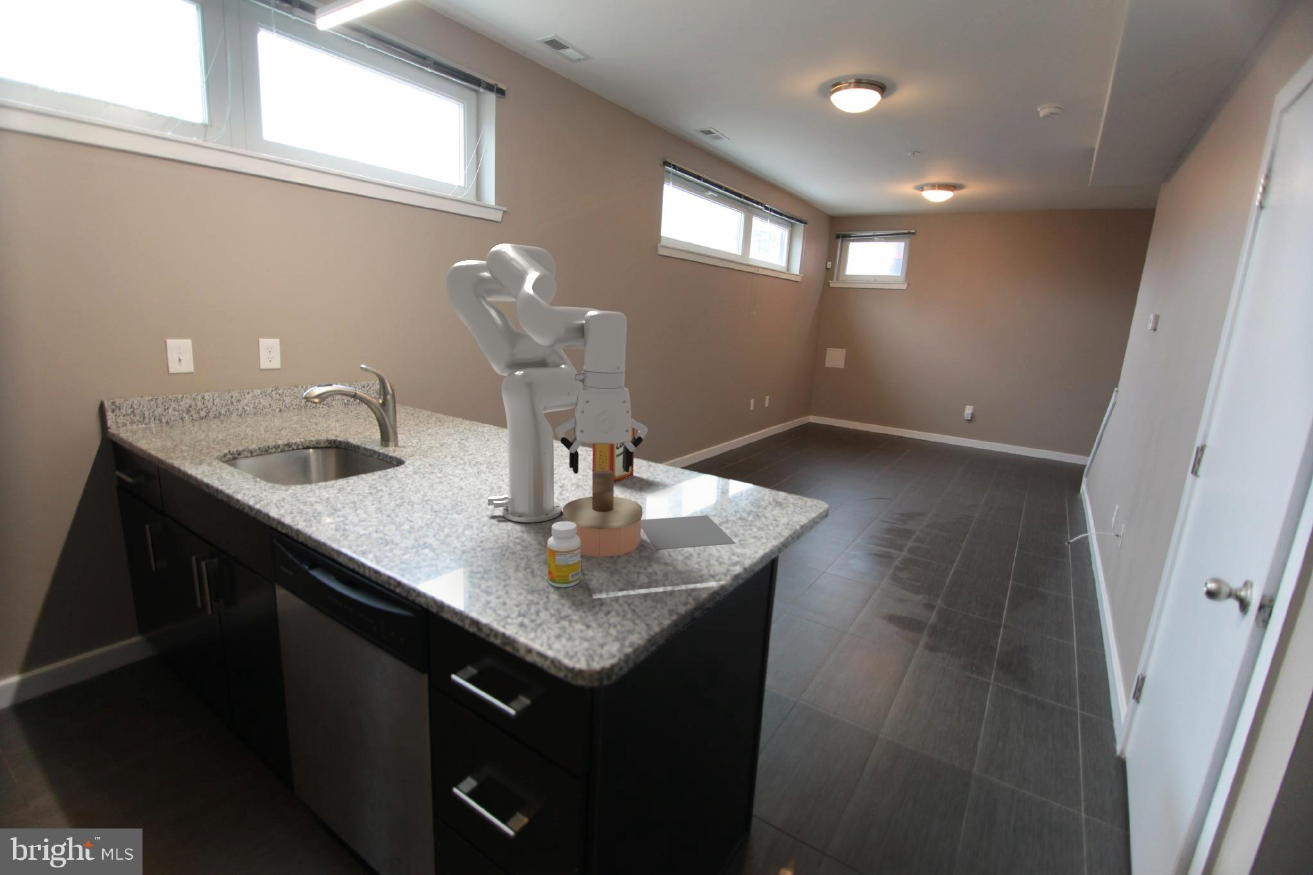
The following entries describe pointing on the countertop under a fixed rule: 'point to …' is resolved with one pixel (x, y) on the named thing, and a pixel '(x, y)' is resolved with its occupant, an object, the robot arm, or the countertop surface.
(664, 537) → the mat
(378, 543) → the countertop surface
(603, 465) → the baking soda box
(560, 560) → the supplement bottle
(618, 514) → the lid
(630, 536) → the bowl
